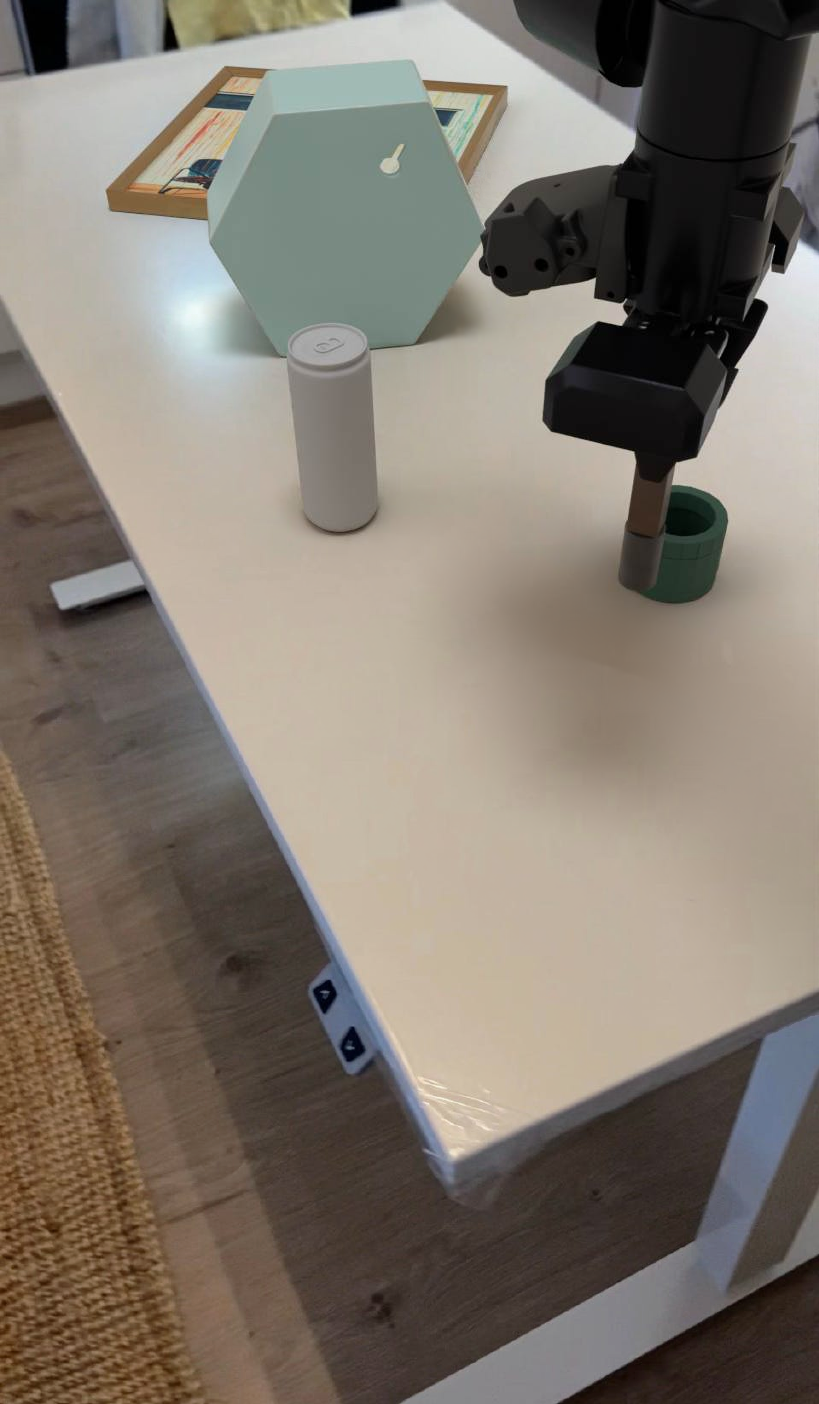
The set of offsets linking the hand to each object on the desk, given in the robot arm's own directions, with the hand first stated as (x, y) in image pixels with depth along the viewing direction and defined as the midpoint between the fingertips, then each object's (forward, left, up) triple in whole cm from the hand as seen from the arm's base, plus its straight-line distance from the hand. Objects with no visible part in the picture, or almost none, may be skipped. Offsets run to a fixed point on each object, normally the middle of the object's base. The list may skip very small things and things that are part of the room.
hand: (657, 467), depth 56 cm
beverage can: (+21, -6, -14) cm, 26 cm away
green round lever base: (0, -8, -13) cm, 16 cm away
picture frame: (+48, -54, -14) cm, 73 cm away
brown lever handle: (0, 0, -7) cm, 7 cm away
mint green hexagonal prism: (+31, -27, -14) cm, 43 cm away
